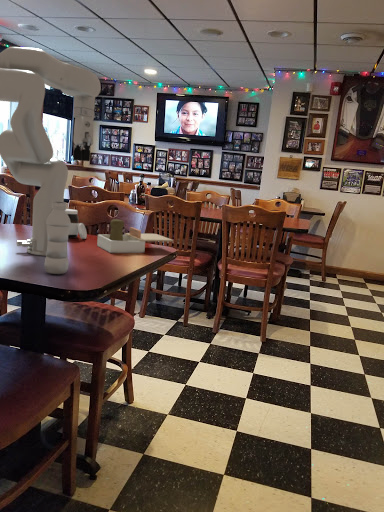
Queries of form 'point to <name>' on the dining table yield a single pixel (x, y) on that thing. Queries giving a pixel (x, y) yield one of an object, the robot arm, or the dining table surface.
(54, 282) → the dining table surface
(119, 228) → the olive pepper mill
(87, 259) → the dining table surface
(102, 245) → the mailer box
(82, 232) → the spread jar
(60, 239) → the plastic bottle
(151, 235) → the lid
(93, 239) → the dining table surface
